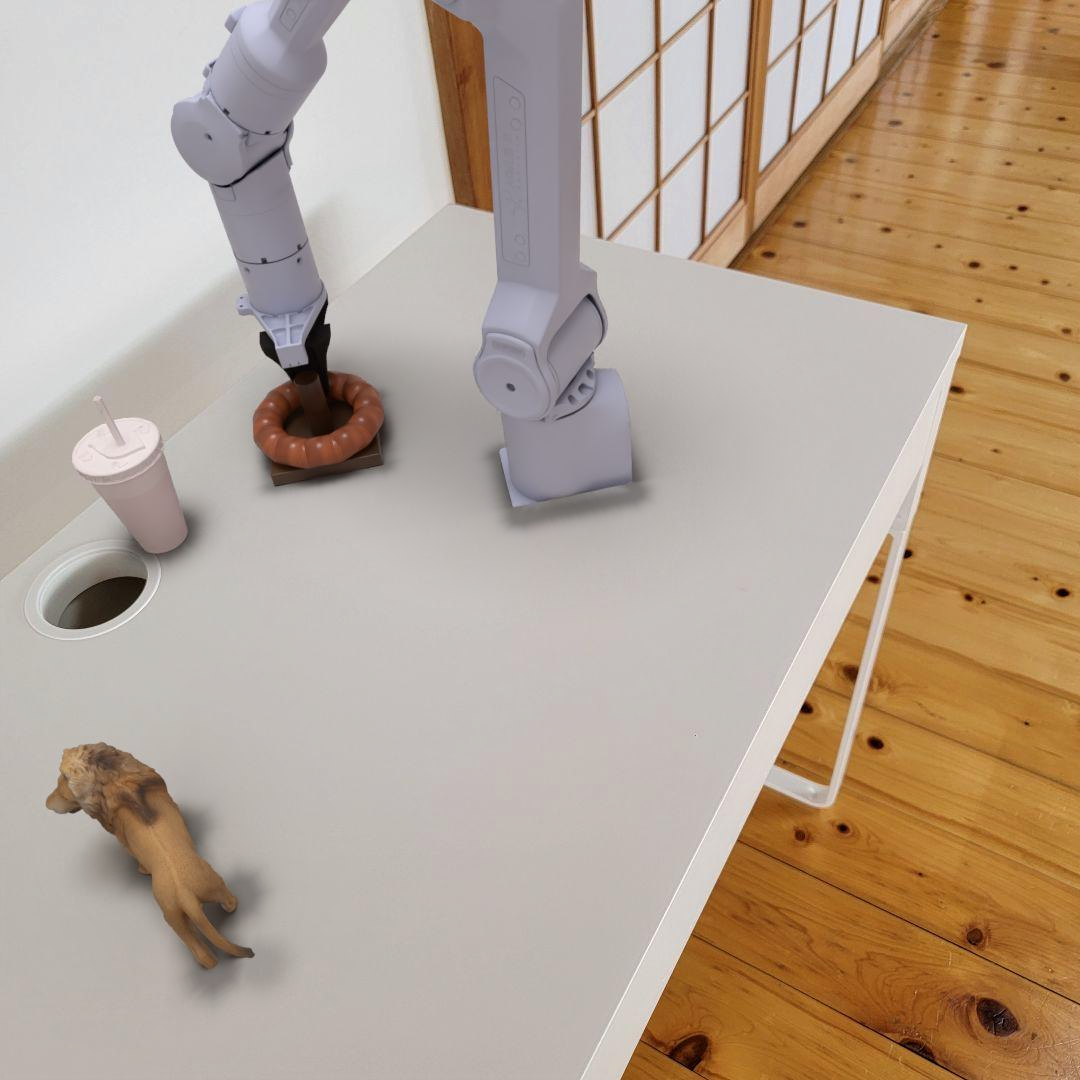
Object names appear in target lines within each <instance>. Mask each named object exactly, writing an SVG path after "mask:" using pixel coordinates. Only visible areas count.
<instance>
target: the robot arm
mask: <svg viewBox="0 0 1080 1080" xmlns="http://www.w3.org/2000/svg"><path fill="white" fill-rule="evenodd" d="M430 1H431V2H433V3H434V4H436V5H438V6H439V7H441V8H443V9H444V10H445V11H447V12H449V13H451V14H452V15H454V16H455V17H457V18H458V19H460V20H462V21H466V22H470V23H471V24H472V25H473V26H474V27H475V28H476V29H477V30H478V31H479V33H480V34H481V36H482V42H483V57H484V59H483V60H484V75H485V89H486V90H485V93H486V108H487V109H486V110H487V111H486V112H487V126H488V143H489V159H490V161H489V162H490V175H491V177H490V179H491V193H492V194H491V195H492V210H493V211H492V212H493V225H494V227H493V228H494V240H495V241H494V243H495V257H496V259H495V260H496V277H497V280H496V285H495V287H494V289H493V294H492V297H491V299H490V301H489V304H488V307H487V309H486V312H485V315H484V317H483V320H482V324H481V338H482V340H481V347H480V349H479V350H478V352H477V354H476V356H475V357H474V361H473V364H472V373H473V378H474V382H475V384H476V386H477V388H478V390H479V392H480V393H481V395H482V396H483V398H484V399H485V400H486V401H487V402H488V403H489V404H490V405H491V406H492V407H493V408H494V409H495V410H496V411H497V412H499V413H500V417H501V422H502V429H503V430H502V431H503V436H504V440H505V441H504V443H505V446H504V447H502V448H500V449H499V450H498V454H499V458H500V463H501V466H502V471H503V475H504V478H505V483H506V486H507V487H506V488H507V491H508V495H509V497H510V498H509V499H510V503H511V506H512V508H518V507H522V506H527V505H532V504H537V503H541V502H546V501H550V500H556V499H561V498H566V497H571V496H575V495H580V494H585V493H590V492H595V491H600V490H606V489H609V488H615V487H621V486H624V485H625V486H626V485H630V484H633V483H634V481H633V459H632V457H633V455H632V453H633V452H632V430H631V428H632V427H631V417H630V411H629V405H628V400H627V395H626V391H625V387H624V384H623V380H622V379H621V375H620V374H619V371H618V370H617V369H616V368H615V367H606V368H604V367H603V368H602V367H598V368H597V367H595V365H596V361H595V350H596V349H597V348H598V347H599V346H600V345H601V344H602V343H603V342H604V340H605V338H606V336H607V334H608V329H609V320H608V319H609V318H608V314H607V311H606V309H605V306H604V304H603V302H602V300H601V297H600V294H599V290H598V272H597V271H596V270H595V269H593V268H592V267H590V266H588V265H587V264H585V263H584V262H582V261H580V258H581V257H580V255H581V197H582V196H581V194H582V193H581V192H582V190H581V188H582V187H581V186H582V120H583V117H582V115H583V114H582V113H583V111H582V110H583V108H582V107H583V49H584V46H583V45H584V44H583V43H584V41H583V39H584V37H583V36H584V0H430ZM350 2H351V0H257V1H254V2H251V3H250V4H248V5H246V4H243V5H241V6H239V7H237V8H235V9H234V10H233V11H231V12H230V13H229V14H228V16H227V18H226V20H225V22H224V28H225V29H226V30H227V31H228V32H229V33H230V35H229V37H228V39H227V40H226V42H225V44H224V46H223V47H222V49H221V51H220V54H219V55H218V57H215V58H213V59H212V60H210V61H209V62H207V63H206V64H205V66H204V67H203V69H202V75H203V77H204V78H205V80H204V82H203V86H202V90H200V91H199V92H197V93H196V94H194V96H188V97H186V98H183V99H181V100H178V101H177V102H176V103H174V104H173V108H172V115H171V119H170V132H171V136H172V140H173V142H174V145H175V147H176V149H177V151H178V153H179V155H180V157H181V158H182V159H183V161H184V162H185V163H186V165H187V166H188V167H189V168H190V169H191V170H192V171H193V172H194V173H195V174H196V175H197V176H199V177H200V178H201V179H203V180H205V181H206V182H207V183H208V186H209V189H210V191H211V194H212V197H213V200H214V203H215V205H216V208H217V211H218V214H219V217H220V220H221V223H222V225H223V228H224V231H225V234H226V237H227V239H228V242H229V245H230V249H231V251H232V253H233V256H234V258H235V262H236V265H237V268H238V270H239V273H240V275H241V278H242V281H243V284H244V286H245V289H246V292H247V293H246V294H245V293H244V294H241V295H239V296H238V297H237V298H236V307H235V308H236V310H237V313H238V315H239V316H242V317H243V316H244V317H245V316H253V317H254V318H255V319H256V321H257V322H258V323H259V325H260V326H261V327H262V329H263V330H262V331H259V337H258V338H259V341H258V342H259V343H258V344H259V346H260V349H261V351H262V353H263V354H264V355H265V357H267V358H269V359H270V360H272V361H273V362H274V363H275V364H277V366H279V367H280V368H281V369H282V371H284V372H285V374H286V375H287V376H288V378H289V380H291V381H292V382H293V384H294V378H295V376H296V375H298V374H299V373H301V372H304V371H314V372H316V373H317V374H318V376H319V379H320V382H321V385H322V388H323V392H324V395H325V397H327V396H329V380H328V371H329V370H328V350H329V347H330V344H331V338H332V328H331V322H329V323H325V322H326V315H327V311H328V307H329V295H328V291H327V289H326V286H325V283H324V281H323V280H322V278H320V274H319V271H318V266H317V263H316V260H315V257H314V256H315V255H314V254H313V249H312V246H311V243H310V239H309V236H308V233H307V230H306V227H305V223H304V219H303V216H302V213H301V209H300V205H299V201H298V199H297V194H296V191H295V188H294V185H293V181H292V178H291V174H290V172H291V169H292V166H293V165H294V163H293V160H292V155H291V152H290V144H291V141H292V140H293V137H294V130H295V123H294V118H295V116H296V115H297V114H298V112H299V110H300V109H301V108H302V106H303V104H304V103H305V102H306V100H307V99H308V97H309V96H310V95H311V93H312V92H313V90H314V89H315V87H316V86H317V85H318V83H319V82H320V80H321V79H322V77H323V76H324V74H325V72H326V70H327V67H328V53H327V48H326V44H325V42H324V39H323V38H324V36H325V35H326V34H327V32H328V31H329V30H330V29H331V27H332V25H334V24H335V22H336V21H337V19H338V17H340V15H341V13H342V12H343V11H344V10H345V9H346V7H347V6H348V4H349V3H350ZM327 370H328V371H327ZM294 385H295V384H294Z"/></svg>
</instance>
